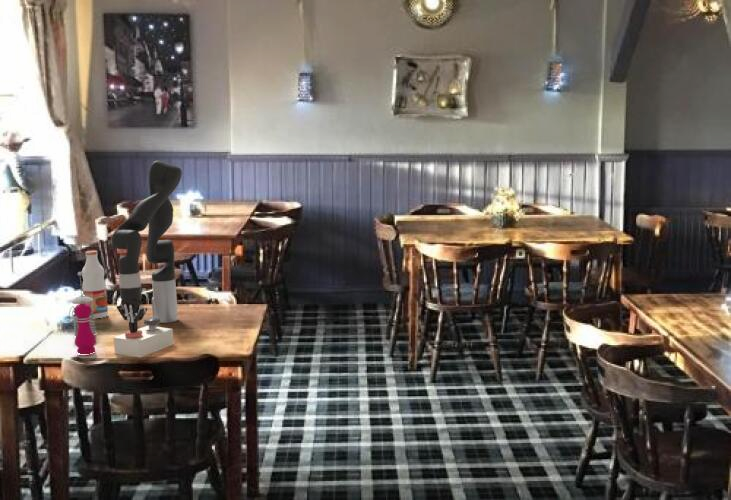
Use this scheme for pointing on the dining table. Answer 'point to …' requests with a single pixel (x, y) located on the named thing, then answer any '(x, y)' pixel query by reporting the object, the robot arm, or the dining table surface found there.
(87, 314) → the pepper mill
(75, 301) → the french press
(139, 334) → the red button
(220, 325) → the dining table surface
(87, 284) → the fruit juice
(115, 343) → the control box
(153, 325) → the dark grey knob
